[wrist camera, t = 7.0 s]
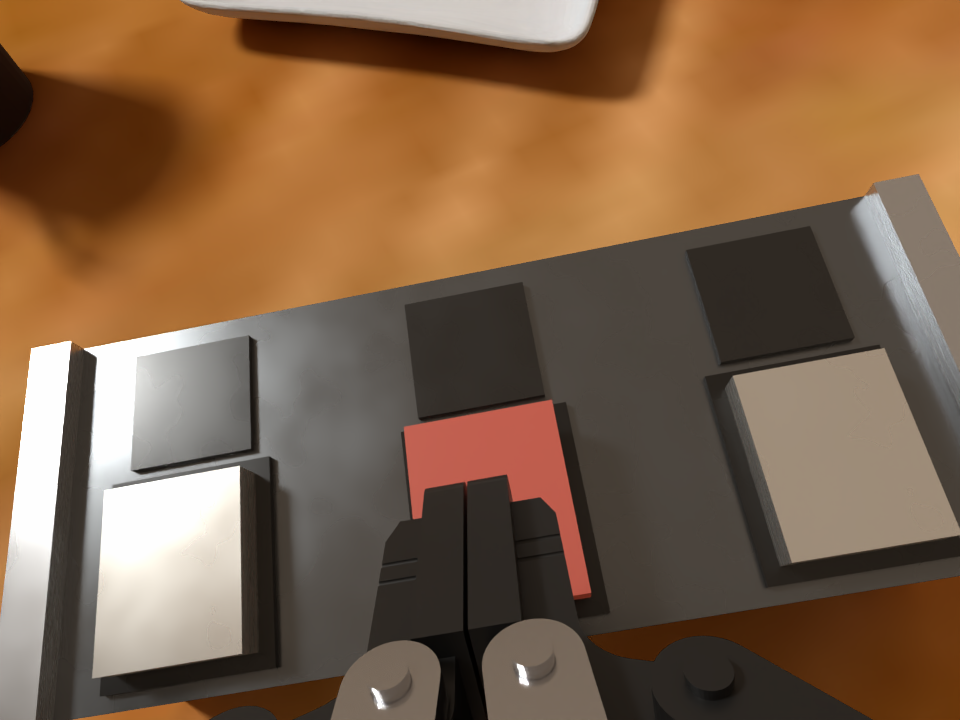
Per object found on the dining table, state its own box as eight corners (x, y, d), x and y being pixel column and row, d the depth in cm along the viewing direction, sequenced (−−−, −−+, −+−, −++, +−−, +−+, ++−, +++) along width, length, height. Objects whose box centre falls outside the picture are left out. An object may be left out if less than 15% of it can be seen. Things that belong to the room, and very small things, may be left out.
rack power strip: (915, 579, 22) (1122, 550, 14) (181, 699, 24) (-31, 736, 15) (813, 312, 26) (927, 162, 18) (186, 429, 28) (19, 342, 19)
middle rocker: (590, 597, 15) (591, 592, 14) (431, 623, 15) (422, 620, 14) (553, 412, 17) (551, 398, 16) (412, 438, 17) (403, 426, 16)
